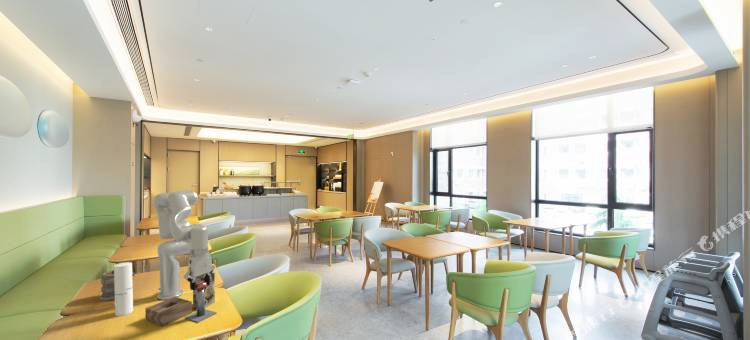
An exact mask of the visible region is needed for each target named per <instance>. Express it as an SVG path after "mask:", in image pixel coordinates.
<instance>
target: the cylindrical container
mask: <svg viewBox="0 0 750 340" xmlns="http://www.w3.org/2000/svg"><path fill="white" fill-rule="evenodd" d="M113 270H114V285H115V299H114V313H115V316H116V317H123V316H126V314H127V315H130V314H131V313H133V312H134V293H133V289H134V288H133V276H132V272H133V263H132V262H130V261H128V262H121V263H116V264H114V265H113ZM132 311H133V312H132Z"/></svg>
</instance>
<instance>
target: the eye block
mask: <svg viewBox="0 0 750 340" xmlns="http://www.w3.org/2000/svg"><path fill="white" fill-rule="evenodd" d="M144 309H145V311H144V312H145V321H146V322H150V323H153V324H156V325H158V326H160V327H164V326H167V325H169V324H171V323H174V322H176V321H178V320H180V319H182V318H185V317H187V316H189V315H191V314H193V300H188V299H184V298H180V297H173V298H170V299H166V300H162V301H160V302H158V303H155V304H152V305H149V306H147V307H145V308H144Z"/></svg>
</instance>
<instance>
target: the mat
mask: <svg viewBox="0 0 750 340" xmlns="http://www.w3.org/2000/svg"><path fill="white" fill-rule="evenodd" d="M216 314H218V313H217V312H215V311H212V310H210V309H206V308H205V315H203V316H200V317H198V316H197V311H196V312H192V313H191V314H189V315H187V316H185V317H184V319H185V320H188V321H192V322H194V323H200V322H203V321H204V320H206V319H208V318H211V317H212V316H215V315H216Z"/></svg>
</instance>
